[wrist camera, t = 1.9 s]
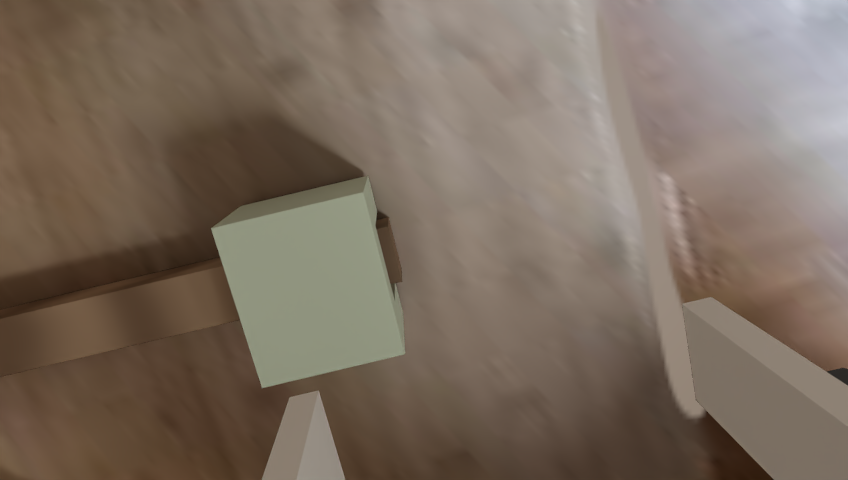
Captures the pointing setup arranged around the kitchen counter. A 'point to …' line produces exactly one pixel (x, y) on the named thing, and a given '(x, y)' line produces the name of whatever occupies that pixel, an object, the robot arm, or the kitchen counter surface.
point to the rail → (130, 312)
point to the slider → (311, 282)
